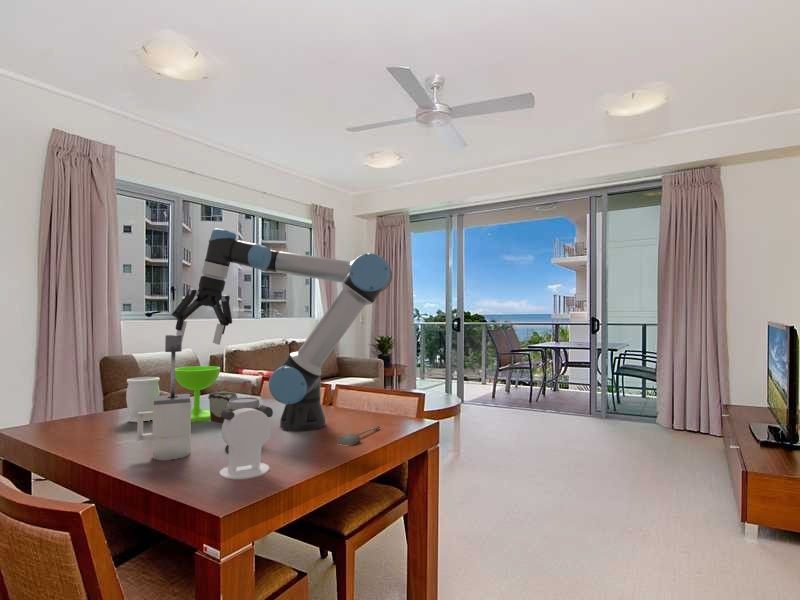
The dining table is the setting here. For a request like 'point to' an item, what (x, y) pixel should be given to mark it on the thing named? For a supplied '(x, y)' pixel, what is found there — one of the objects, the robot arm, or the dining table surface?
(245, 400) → the disposable coffee cup
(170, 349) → the plunger
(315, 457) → the dining table surface
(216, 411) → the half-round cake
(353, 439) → the soupspoon
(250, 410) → the panda figurine
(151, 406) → the jar
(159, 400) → the press pot
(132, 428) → the dining table surface
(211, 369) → the wineglass
